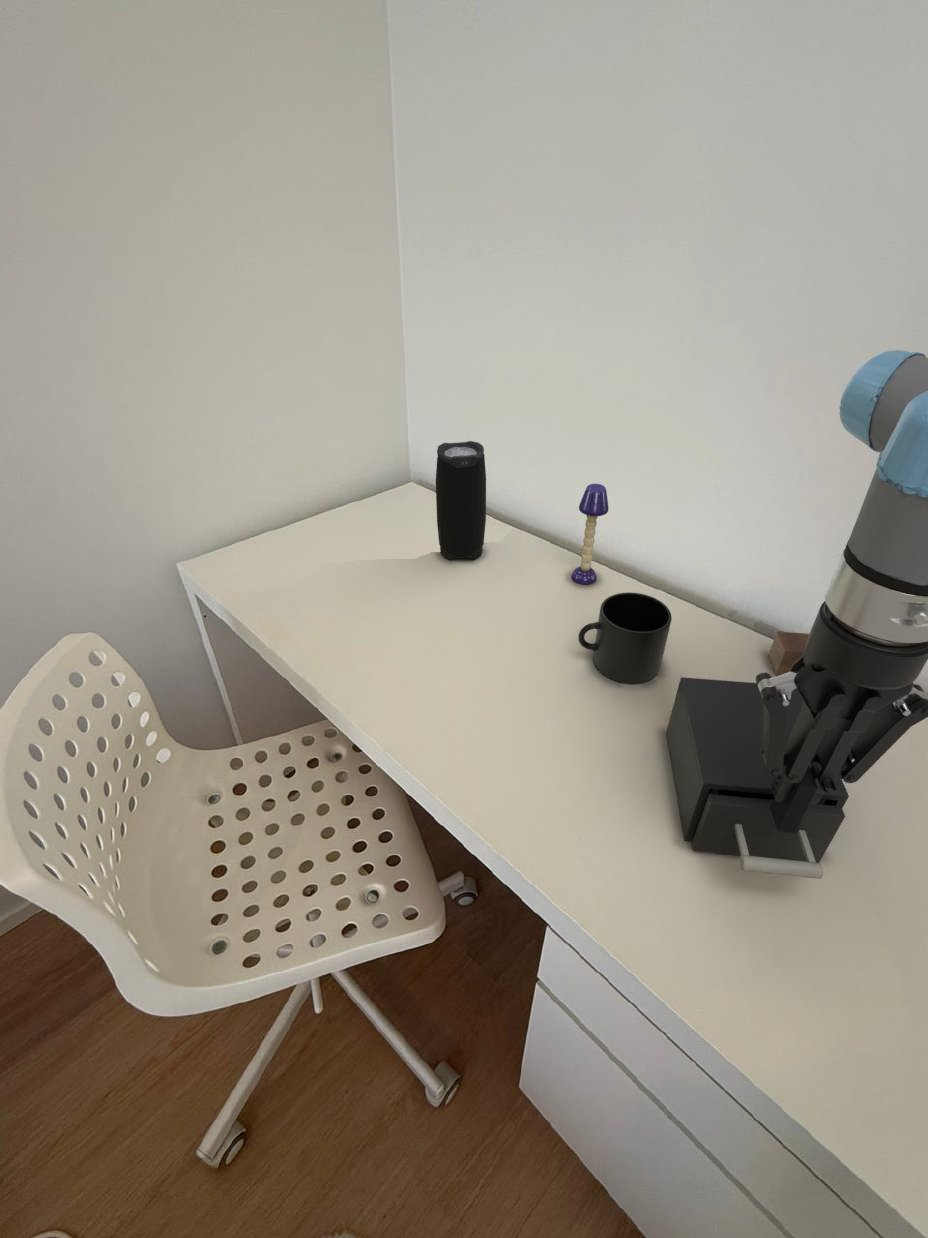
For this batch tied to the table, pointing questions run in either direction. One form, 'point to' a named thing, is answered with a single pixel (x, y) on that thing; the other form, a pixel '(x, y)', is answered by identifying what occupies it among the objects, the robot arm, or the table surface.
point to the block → (786, 650)
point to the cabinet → (722, 744)
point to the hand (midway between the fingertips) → (782, 819)
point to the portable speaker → (461, 499)
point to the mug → (629, 637)
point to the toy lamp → (590, 529)
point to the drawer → (765, 833)
